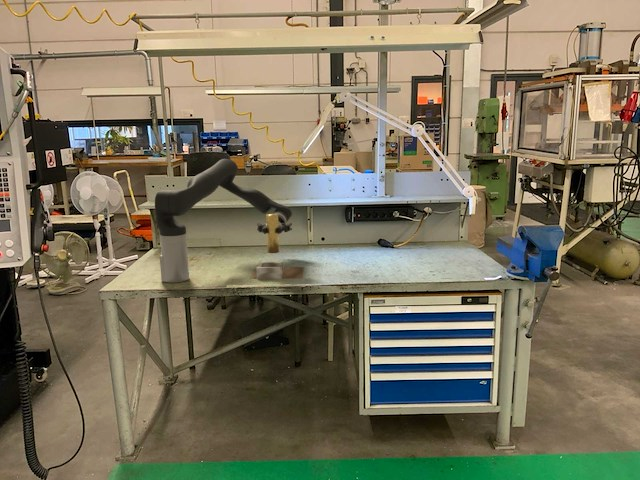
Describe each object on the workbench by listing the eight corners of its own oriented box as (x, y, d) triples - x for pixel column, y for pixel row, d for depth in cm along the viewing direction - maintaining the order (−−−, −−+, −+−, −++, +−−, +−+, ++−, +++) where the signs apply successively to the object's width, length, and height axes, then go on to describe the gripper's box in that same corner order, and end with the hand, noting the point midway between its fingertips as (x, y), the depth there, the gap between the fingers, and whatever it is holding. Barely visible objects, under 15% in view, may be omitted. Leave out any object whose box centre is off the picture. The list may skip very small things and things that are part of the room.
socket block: (250, 281, 174) (249, 268, 173) (256, 269, 189) (255, 257, 188) (302, 281, 173) (302, 267, 172) (304, 269, 189) (303, 257, 188)
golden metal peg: (266, 253, 176) (265, 215, 173) (268, 250, 180) (266, 213, 177) (278, 253, 176) (277, 215, 173) (279, 250, 180) (278, 213, 177)
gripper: (258, 214, 190) (251, 221, 173) (294, 213, 189) (291, 220, 173) (258, 232, 191) (252, 241, 174) (294, 232, 191) (291, 241, 174)
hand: (271, 231), depth 173 cm, fingers closed on golden metal peg, 4 cm apart
